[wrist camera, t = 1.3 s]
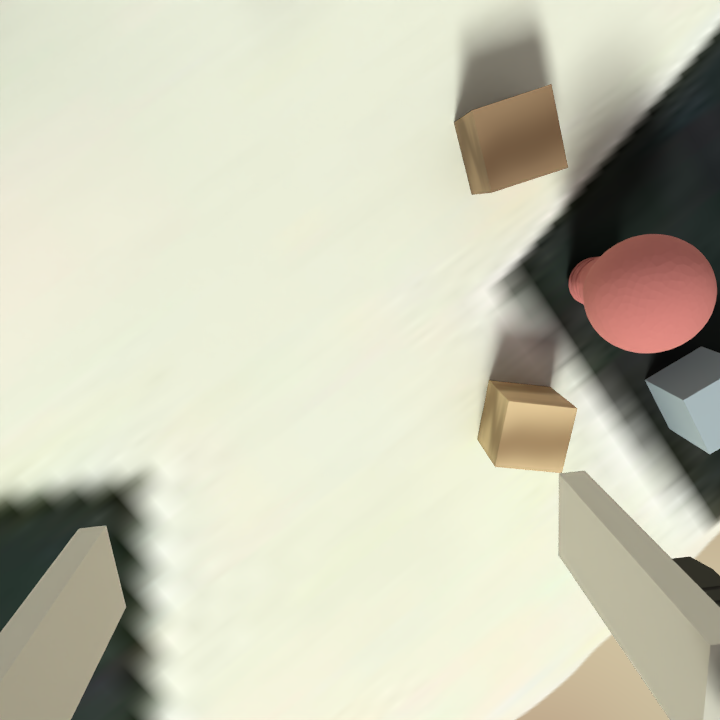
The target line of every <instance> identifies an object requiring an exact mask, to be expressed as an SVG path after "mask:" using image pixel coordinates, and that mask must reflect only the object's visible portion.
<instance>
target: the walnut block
mask: <svg viewBox="0 0 720 720" xmlns="http://www.w3.org/2000/svg"><path fill="white" fill-rule="evenodd" d="M454 125H455V129H456V133H457V137H458V141H459V145H460V149H461V153H462V157H463V161H464V165H465V169H466V173H467V177H468V181H469V185H470V189H471V193H472V195H473V194H483V193H492V192H495V191H498V190H501V189H504V188H507V187H510V186H513V185H516V184H519V183H522V182H526V181H529V180H532V179H535V178H538V177H541V176H544V175H547V174H550V173H553V172H556V171H559V170H562V169H565V168H568V165H567V160H566V155H565V150H564V145H563V140H562V135H561V130H560V125H559V120H558V115H557V110H556V105H555V100H554V95H553V90H552V85H551V84H550V85H547V86H544V87H541V88H538V89H535V90H532V91H529V92H526V93H523V94H520V95H517V96H514V97H511V98H508V99H505V100H502V101H499V102H496V103H493V104H489V105H486V106H483V107H480V108H477V109H474V110H472V111H470V112H469V113H467V114H466V115H464V116H463V117H461V118H460V119H459V120H457V121H456V122H454Z"/></svg>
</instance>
